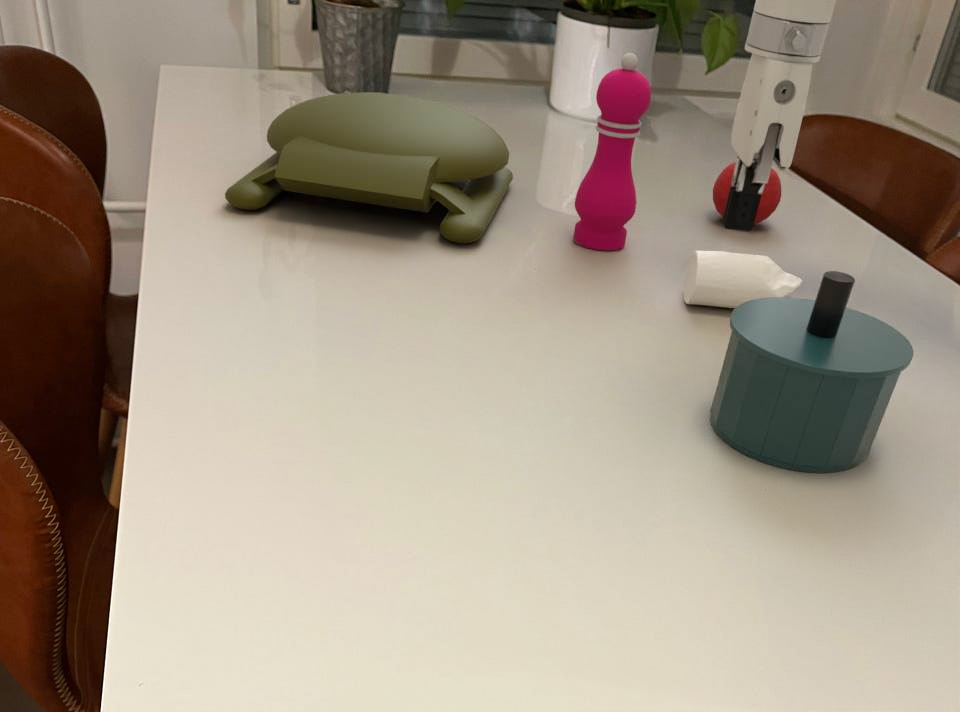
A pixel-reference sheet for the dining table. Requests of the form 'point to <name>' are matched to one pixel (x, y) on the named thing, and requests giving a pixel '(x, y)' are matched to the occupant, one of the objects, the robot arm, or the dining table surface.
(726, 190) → the tomato
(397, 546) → the dining table surface
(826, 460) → the pot
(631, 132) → the pepper mill
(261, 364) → the dining table surface
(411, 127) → the spaceship
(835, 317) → the pot lid
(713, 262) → the white bottle
